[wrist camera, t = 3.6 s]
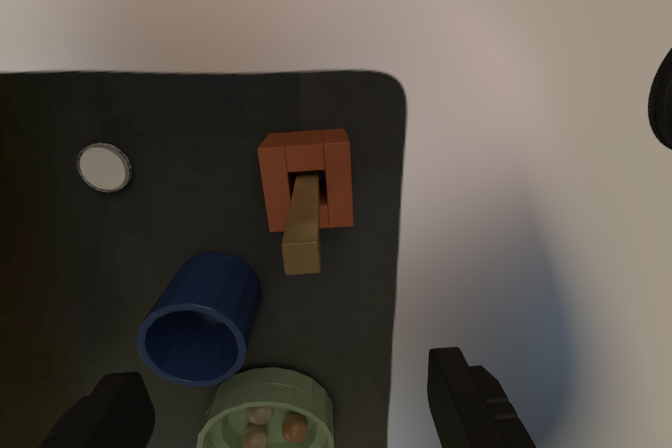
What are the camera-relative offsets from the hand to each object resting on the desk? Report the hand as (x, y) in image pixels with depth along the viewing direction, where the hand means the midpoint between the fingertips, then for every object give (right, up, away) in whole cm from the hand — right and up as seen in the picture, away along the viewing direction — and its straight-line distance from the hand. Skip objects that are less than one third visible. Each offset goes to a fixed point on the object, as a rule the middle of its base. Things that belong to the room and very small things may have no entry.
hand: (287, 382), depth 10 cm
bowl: (-6, -17, +32) cm, 37 cm away
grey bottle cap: (-18, +9, +20) cm, 28 cm away
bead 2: (-8, -20, +31) cm, 37 cm away
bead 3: (-3, -19, +30) cm, 36 cm away
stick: (-1, +9, +20) cm, 23 cm away
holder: (-1, +9, +20) cm, 23 cm away
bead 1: (-7, -16, +29) cm, 33 cm away
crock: (-10, -2, +25) cm, 27 cm away
